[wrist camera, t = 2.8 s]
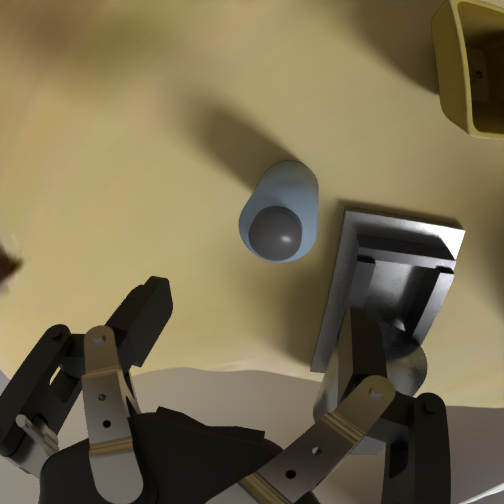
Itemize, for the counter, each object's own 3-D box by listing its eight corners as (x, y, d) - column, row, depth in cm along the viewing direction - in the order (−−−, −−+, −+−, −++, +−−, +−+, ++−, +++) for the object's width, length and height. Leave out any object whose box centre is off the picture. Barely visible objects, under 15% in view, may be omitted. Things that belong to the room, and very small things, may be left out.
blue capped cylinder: (262, 158, 25) (233, 194, 17) (321, 164, 24) (321, 204, 16) (260, 211, 27) (234, 267, 20) (315, 217, 27) (310, 277, 19)
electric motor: (345, 206, 25) (359, 306, 14) (461, 226, 23) (524, 320, 12) (308, 374, 38) (295, 462, 27) (390, 382, 36) (394, 466, 25)
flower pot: (421, 118, 20) (468, 137, 12) (407, 19, 16) (448, -9, 8) (502, 125, 18) (562, 151, 10) (493, 34, 13) (552, 27, 6)
